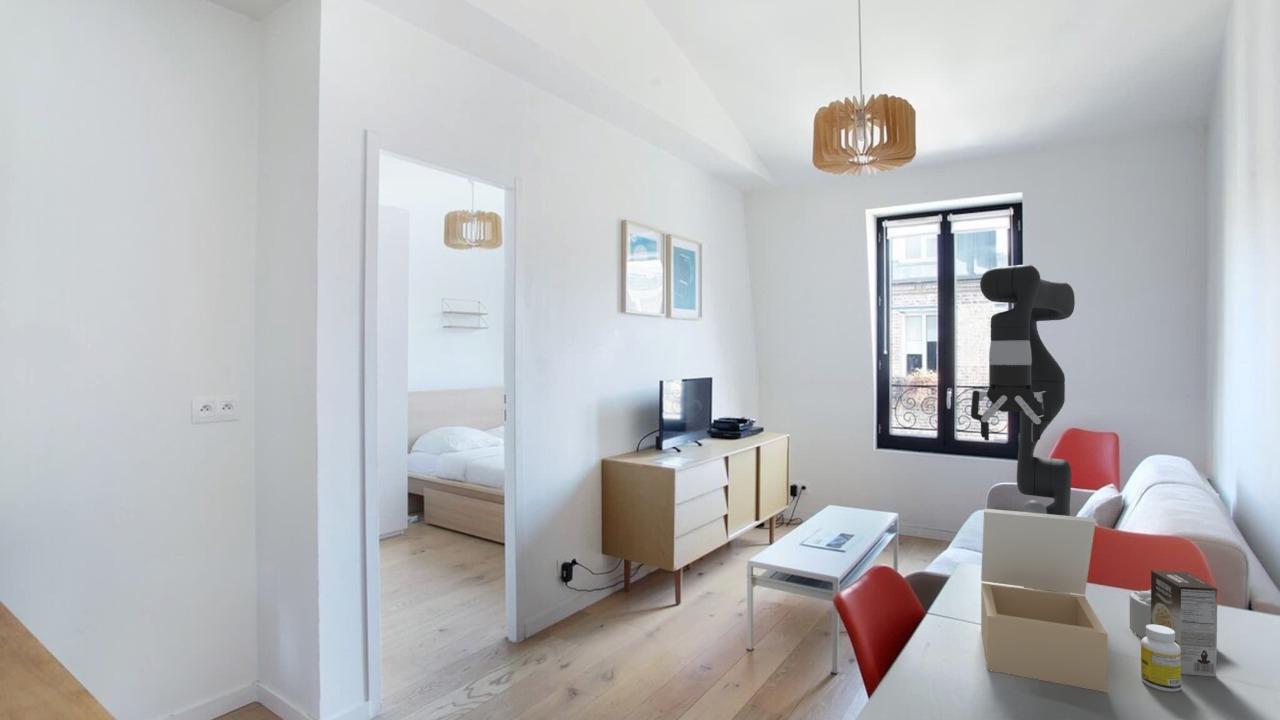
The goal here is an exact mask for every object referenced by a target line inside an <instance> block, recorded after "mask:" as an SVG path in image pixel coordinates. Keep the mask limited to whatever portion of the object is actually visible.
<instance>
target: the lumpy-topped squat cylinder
mask: <svg viewBox="0 0 1280 720" xmlns="http://www.w3.org/2000/svg"><path fill="white" fill-rule="evenodd" d="M1150 624H1151V589H1148V590H1137V591H1132V592H1130V593H1129V630H1130V629H1131V630H1132V631H1133V632H1134V633H1133V632H1132V631H1131V630H1130V631H1131V632H1132V633H1133V634H1135V633H1136V634H1137V635H1138V636H1137V635H1136V634H1135V635H1136V636H1137V637H1139V636H1140V637H1139V638H1141V637H1142V638H1141V639H1143V638H1144V637H1147V635H1146V625H1150Z"/></svg>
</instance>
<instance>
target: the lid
mask: <svg viewBox="0 0 1280 720" xmlns="http://www.w3.org/2000/svg"><path fill="white" fill-rule="evenodd" d="M1046 513H1047V511H1046V508H1045V505H1044V503H1042V502H1041V501H1038V500H1034V499H1031V500H1028V501H1026V502H1025V503H1024V504H1023V507H1022V511H1016V510H1004V509H995V508H983V521H982V522H983V526H982V528H983V529H982V549H981V550H982V551H981V553H982V554H981V568H980V570H981V573H980V574H981V575H980V578H981V579H980V580H981V582H983V583H991V584H999V585H1006V586H1014V587H1021V588H1024V587H1029V588H1037V589H1045V590H1052V591H1060V592H1068V593H1070V594H1074V595H1082V596H1085V595H1086V591H1087V585H1088V584H1087V583H1088V578H1089V577H1088V576H1089V570H1090V562H1091V556H1092V548H1093V543H1094V542H1093V541H1094V536H1095V528H1096V522H1097V521H1096V519H1095V517H1084V516H1072V515H1070V516H1063V515H1052V514H1046Z"/></svg>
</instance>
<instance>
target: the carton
mask: <svg viewBox="0 0 1280 720" xmlns="http://www.w3.org/2000/svg"><path fill="white" fill-rule="evenodd" d="M980 586H981V587H980V588H981V589H980V591H981V592H980V595H981V596H980V601H981V602H980V604H981V607H980V609H981V610H980V615H981V616H980V617H981V618H980V619H981V620H980V622H981V623H980V627H981V628H980V629H981V636H982V637H981V638H982V644H983V650H984V655H985V656H984V657H985V662H986V664H985V665H986V669H987V671H989V670H992V671H991V672H994V671H997V672H996V673H1000V672H1004V673H1003V674H1005V673H1009V674H1008V675H1010V674H1013V675H1012V676H1016V675H1017V677H1020V678H1021V677H1023V678H1028V679H1032V680H1033V679H1034V680H1039V681H1043V682H1044V681H1045V682H1050V683H1055V684H1060V685H1065V686H1071V687H1077V688H1082V689H1089V690H1094V691H1098V692H1104V693H1108V646H1109V645H1108V643H1109V642H1108V639H1109V638H1108V633H1107V630H1106V628H1105V627H1104V626H1103V624H1102V622H1101V620H1100V618H1098V616H1097V613H1095V611H1094V608H1093V607H1092V605H1091V604H1090V602H1089V601H1088V600H1087V597H1086V596H1085V595H1083V594H1075V593H1070V594H1067V593H1059V592H1052V591H1044V590H1037V589H1029V588H1024V587H1022V586H1014V585H1007V584H999V583H991V582H984V581H981V583H980Z"/></svg>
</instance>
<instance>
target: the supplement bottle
mask: <svg viewBox="0 0 1280 720" xmlns="http://www.w3.org/2000/svg"><path fill="white" fill-rule="evenodd" d="M1146 635H1147V637H1144V638H1141V641H1140V665H1141V666H1140V676H1141V681H1142V682H1143V683H1144V684H1145V685H1147V686H1148V687H1151V688H1152V689H1156V690H1159V691H1162V692H1169V693H1170V692H1171V693H1174V692H1175V693H1176V692H1179V691H1180V690H1181V689H1182V674H1181V650H1180V647H1179V646H1178V644H1176V643H1175V642H1174V641H1175V631H1174V630H1172V629H1170V628H1168V627H1165V626H1161V625H1155V624H1150V625H1146Z"/></svg>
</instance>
